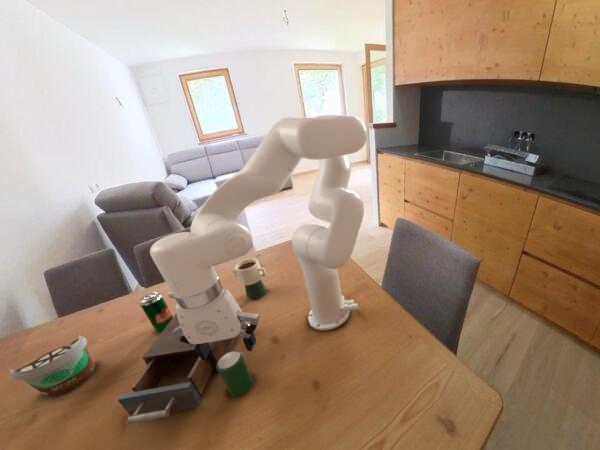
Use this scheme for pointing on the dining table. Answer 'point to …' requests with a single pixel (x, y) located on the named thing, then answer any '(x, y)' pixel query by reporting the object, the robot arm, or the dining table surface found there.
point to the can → (234, 373)
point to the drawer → (167, 386)
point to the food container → (58, 369)
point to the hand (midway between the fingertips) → (229, 350)
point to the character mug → (251, 277)
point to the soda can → (156, 310)
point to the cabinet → (184, 345)
